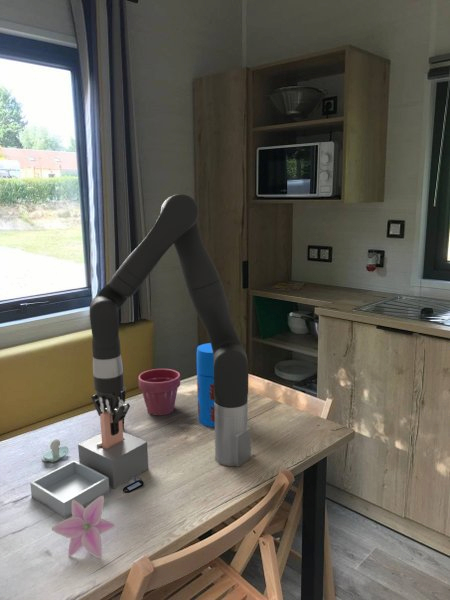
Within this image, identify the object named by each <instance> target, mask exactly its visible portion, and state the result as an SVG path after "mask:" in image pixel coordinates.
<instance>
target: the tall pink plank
mask: <svg viewBox="0 0 450 600" xmlns="http://www.w3.org/2000/svg"><path fill="white" fill-rule="evenodd" d="M114 417H115V414H114ZM99 420H100V423H99V424H100V434H101V437H102V448H103V449H105V450H106V449H107V448H109V447H111V446H113V445H115V444H117V443H119V442H121V441H123V440H124V439H123V432H124V430H123V423H122V420H121V421H119V432H118V434H116V435H114V436H113V435H111V427H110V423H111V422H110V417H109V414H108V413H107V411H106V412H104V413H102V414H100V416H99Z"/></svg>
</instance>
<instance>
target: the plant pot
mask: <svg viewBox="0 0 450 600" xmlns="http://www.w3.org/2000/svg"><path fill="white" fill-rule="evenodd" d="M180 386H181V374H180V372H179V371H177V370H175V369H172V368H171V369H170V368H155V369H149V370H146V371H145V370H144V371H143V372H141V373H140V374H139V375H138V388H139V389H140V391H141V392H142V396H143V400H144V404H145V407H146V410H147V412H148V413H149V414H150V415H153V416H154V415H155V416H163V415H164V416H165V415H168V414H171V413H172V412H174V409H175V404H176V399H177V395H178V388H180Z"/></svg>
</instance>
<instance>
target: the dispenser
mask: <svg viewBox="0 0 450 600" xmlns="http://www.w3.org/2000/svg"><path fill="white" fill-rule="evenodd" d="M123 439H124V440H123V441H121V442H119V443H117V444H115V445H113V446H111V447H109V448H107V449H106V450H105V449H103V448H102V437H101V433H99V434H96V435H95V436H94V435H93V437H90V438H89V439H88V438H87V439H86V440H84V441H82V442H80V443H78V444H77V449H78V462H79V463H81V464H83V465H85V466H87V467H89V468H91V469H93V470H95V471H97V472H99V473H100V474H102V475H104V476H106V477H108V478H109V488H110V489H113V490H115V489H117V488H118V487H120V486H122V485H124V484H125V483H126V482H128V481H130V480H132V479H133V478H135V477H137V476H138V475H140V474H142V473H144V471H146V470H149V456H148V451H149V450H148V441H146V440H144V439H142V438H139V437H137V436H134V435H131V434H129V433H127V432H125V431H123ZM132 477H133V478H132ZM131 478H132V479H131Z"/></svg>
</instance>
